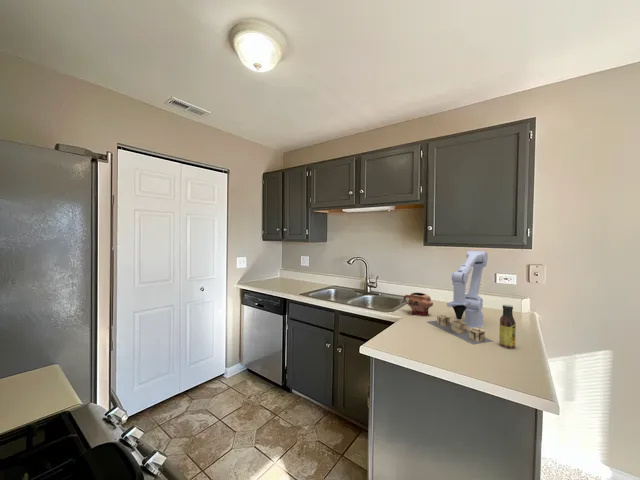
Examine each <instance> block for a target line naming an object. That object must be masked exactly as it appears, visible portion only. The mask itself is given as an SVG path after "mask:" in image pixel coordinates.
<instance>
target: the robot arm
mask: <svg viewBox="0 0 640 480" xmlns="http://www.w3.org/2000/svg"><path fill="white" fill-rule="evenodd" d="M488 260H489V259H488V253H487V251H485V250H484V251H482V250H481V251H480V250H478V251H477V250H468V251H467V252H466V260H465V262H464V263H462V264H461V265H460V266H459V267H458V268H457V271H454V272H453V273H452V274H451V281H452V285H453V296H452V297H453V299H452V301H449V302H446V307H448V308H452V309H453V312H454V313H455V317H456V319H457V320H458V321H461V320H463V319H462V318H463V316H464V323H466V327H469V328H481V327H484V314H483V311H482V310H483V301H484V299H483V298H482V297H481V296H480V295H479V291H480V286H481V281H482V275H483V270H484V268H485V267H487V264H488ZM471 272H472V273H471ZM470 273H471V277H470V278H471V279H470V283H469V284H470V285H469V288H468V289H469V290H468V292H466V283H468V279H469V275H470Z"/></svg>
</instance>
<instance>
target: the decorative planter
mask: <svg viewBox="0 0 640 480" xmlns="http://www.w3.org/2000/svg"><path fill="white" fill-rule="evenodd" d="M406 298H408V302H407V299H406ZM431 298H432V297H431V296H430V295H428V294H426V293H422V292H412V293H410V294H405V295H404V296H403V301H404V303H406V305H408V306H409V307H410V309H411V313H412V314H413V315H414V316H419V317H425V316H426V317H427V316H428V315H429V309H430V308H431V307H433V306H434V303H433V301H432V299H431Z"/></svg>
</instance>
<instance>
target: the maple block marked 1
mask: <svg viewBox="0 0 640 480" xmlns="http://www.w3.org/2000/svg"><path fill="white" fill-rule="evenodd" d="M436 321H437V324H439V325H441V326H450V323H451V316H449V315H447V314H445V313H444V314H443V313H442V314H437V315H436Z"/></svg>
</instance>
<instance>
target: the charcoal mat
mask: <svg viewBox="0 0 640 480" xmlns="http://www.w3.org/2000/svg"><path fill="white" fill-rule="evenodd" d="M426 323H427V324H430V325H431V326H434V327H436V328H438V329H440V330H442V331H444V332H446V333H448V334H451V335H453V336H455V337H457V338H458V339H461V340H464V341H465V342H466V343H469V344H471V345H478V344H480V345H481V344H486V343H492V342H494V340H492V339H490V338H487V337H485V341H482V342H476V341H473V340H471V339H469V329H467V328H466V333H460V334H458V333H456V332H454V331H452V322H450V326H441V325H439V324H437V320H430V321H426Z"/></svg>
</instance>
